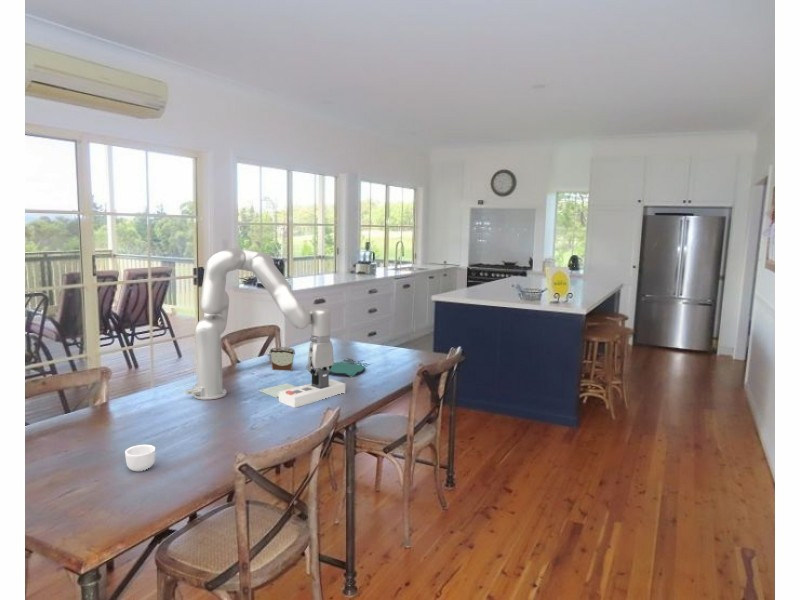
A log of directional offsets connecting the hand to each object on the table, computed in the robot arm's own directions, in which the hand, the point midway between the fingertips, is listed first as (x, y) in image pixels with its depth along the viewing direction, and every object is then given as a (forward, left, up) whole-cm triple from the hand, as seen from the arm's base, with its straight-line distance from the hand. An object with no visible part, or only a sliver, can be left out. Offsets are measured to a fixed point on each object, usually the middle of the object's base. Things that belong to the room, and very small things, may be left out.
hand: (320, 382), depth 222 cm
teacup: (-79, -14, -6) cm, 80 cm away
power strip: (-4, 0, -5) cm, 7 cm away
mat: (-8, +15, -5) cm, 18 cm away
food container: (+13, +42, -6) cm, 44 cm away
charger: (0, 0, -3) cm, 3 cm away
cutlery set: (+36, +21, -6) cm, 42 cm away
